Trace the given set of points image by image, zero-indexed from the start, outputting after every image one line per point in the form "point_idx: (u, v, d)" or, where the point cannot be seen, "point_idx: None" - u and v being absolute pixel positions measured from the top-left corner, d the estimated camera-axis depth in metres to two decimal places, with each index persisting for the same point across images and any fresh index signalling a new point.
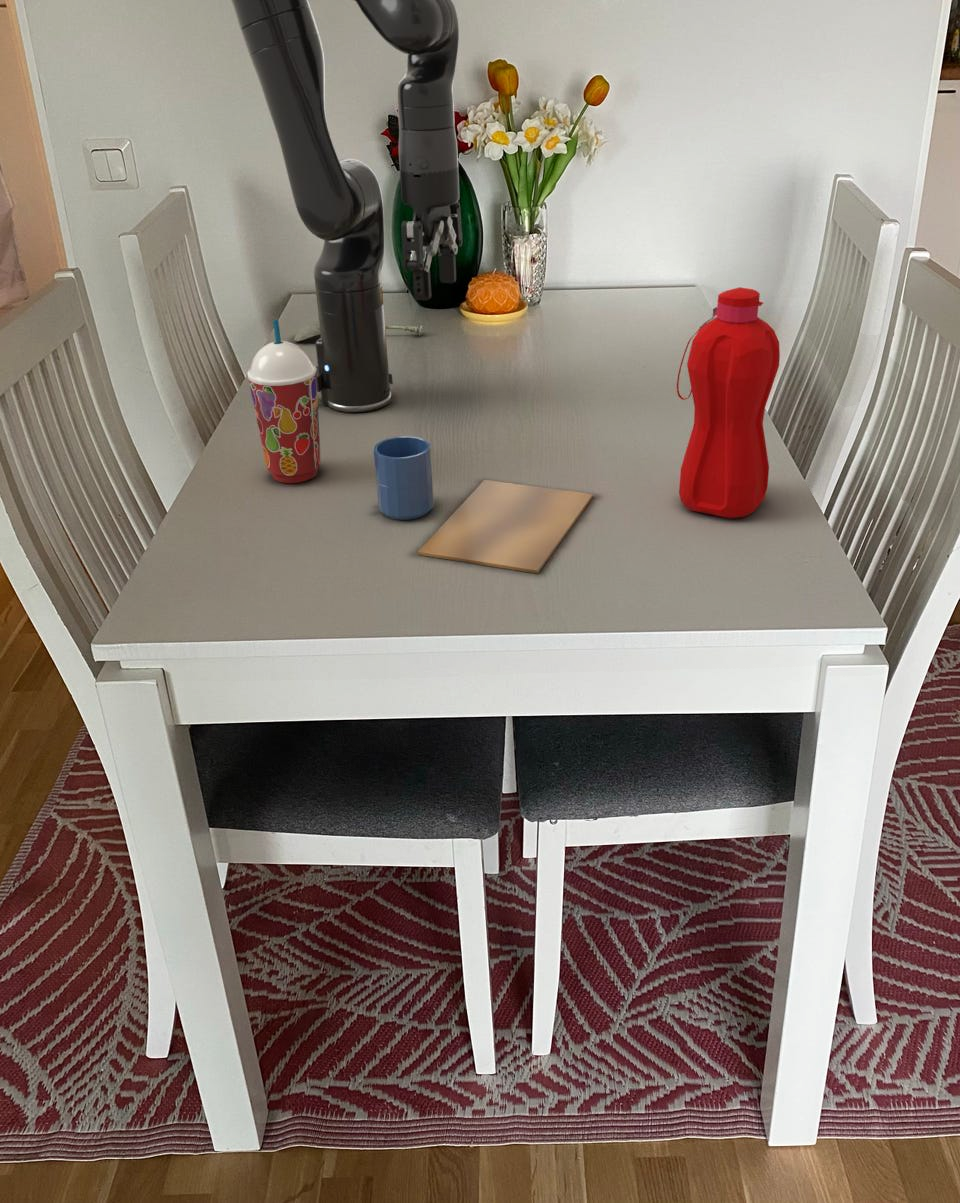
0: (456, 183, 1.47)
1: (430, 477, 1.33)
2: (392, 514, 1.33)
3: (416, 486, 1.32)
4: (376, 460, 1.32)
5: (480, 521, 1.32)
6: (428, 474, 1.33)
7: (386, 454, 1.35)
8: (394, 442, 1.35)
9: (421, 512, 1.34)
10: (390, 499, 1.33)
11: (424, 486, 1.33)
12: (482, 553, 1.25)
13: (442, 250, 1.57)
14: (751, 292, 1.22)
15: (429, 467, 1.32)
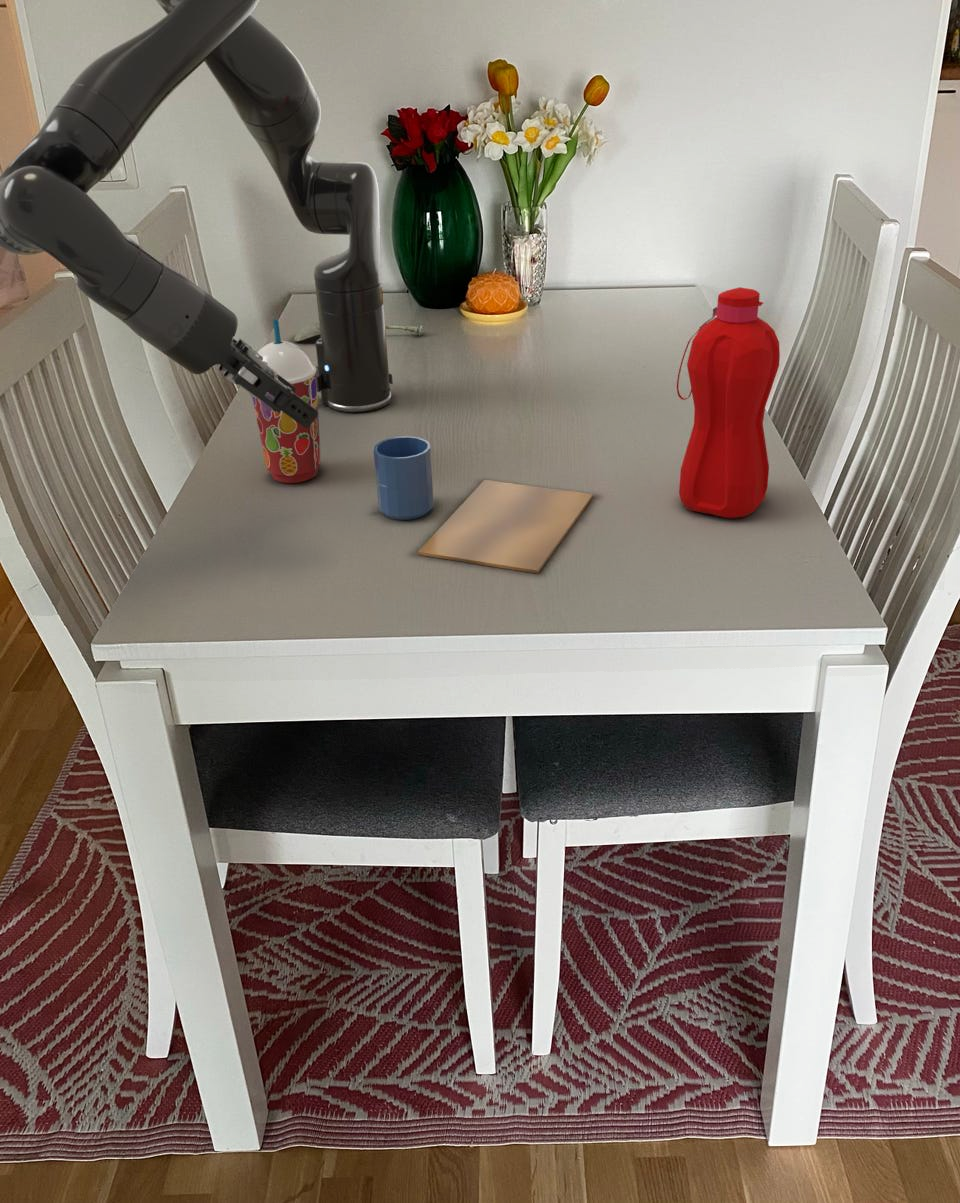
0: None
1: (430, 477, 1.33)
2: (392, 514, 1.33)
3: (416, 486, 1.32)
4: (376, 460, 1.32)
5: (480, 521, 1.32)
6: (428, 474, 1.33)
7: (386, 454, 1.35)
8: (394, 442, 1.35)
9: (421, 512, 1.34)
10: (390, 499, 1.33)
11: (424, 486, 1.33)
12: (482, 553, 1.25)
13: None
14: (751, 292, 1.22)
15: (429, 467, 1.32)
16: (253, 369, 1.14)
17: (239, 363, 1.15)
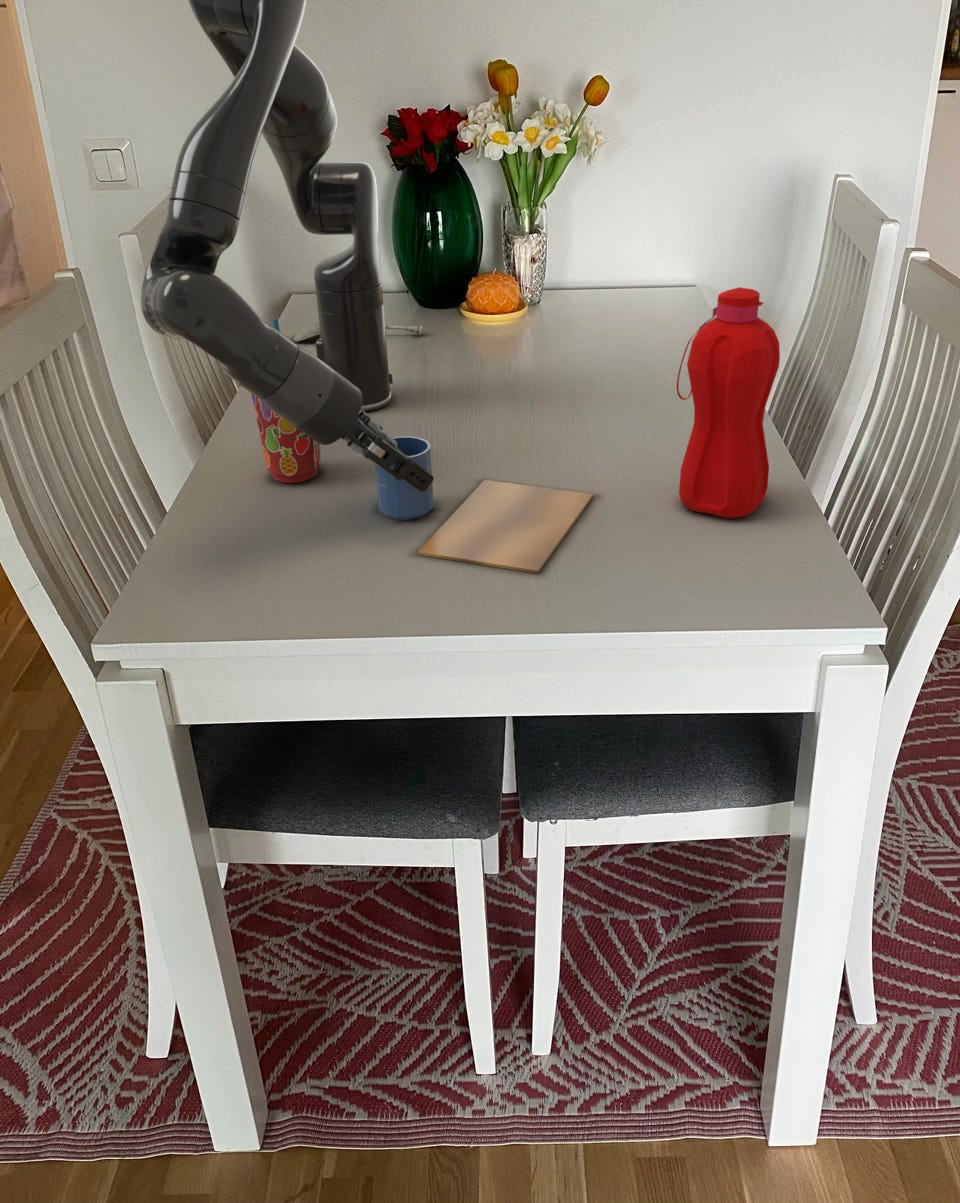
0: None
1: None
2: (392, 514, 1.33)
3: None
4: None
5: (480, 521, 1.32)
6: None
7: None
8: None
9: (421, 512, 1.34)
10: (390, 499, 1.33)
11: None
12: (482, 553, 1.25)
13: None
14: (751, 292, 1.22)
15: (429, 467, 1.32)
16: (382, 445, 1.24)
17: (366, 437, 1.25)
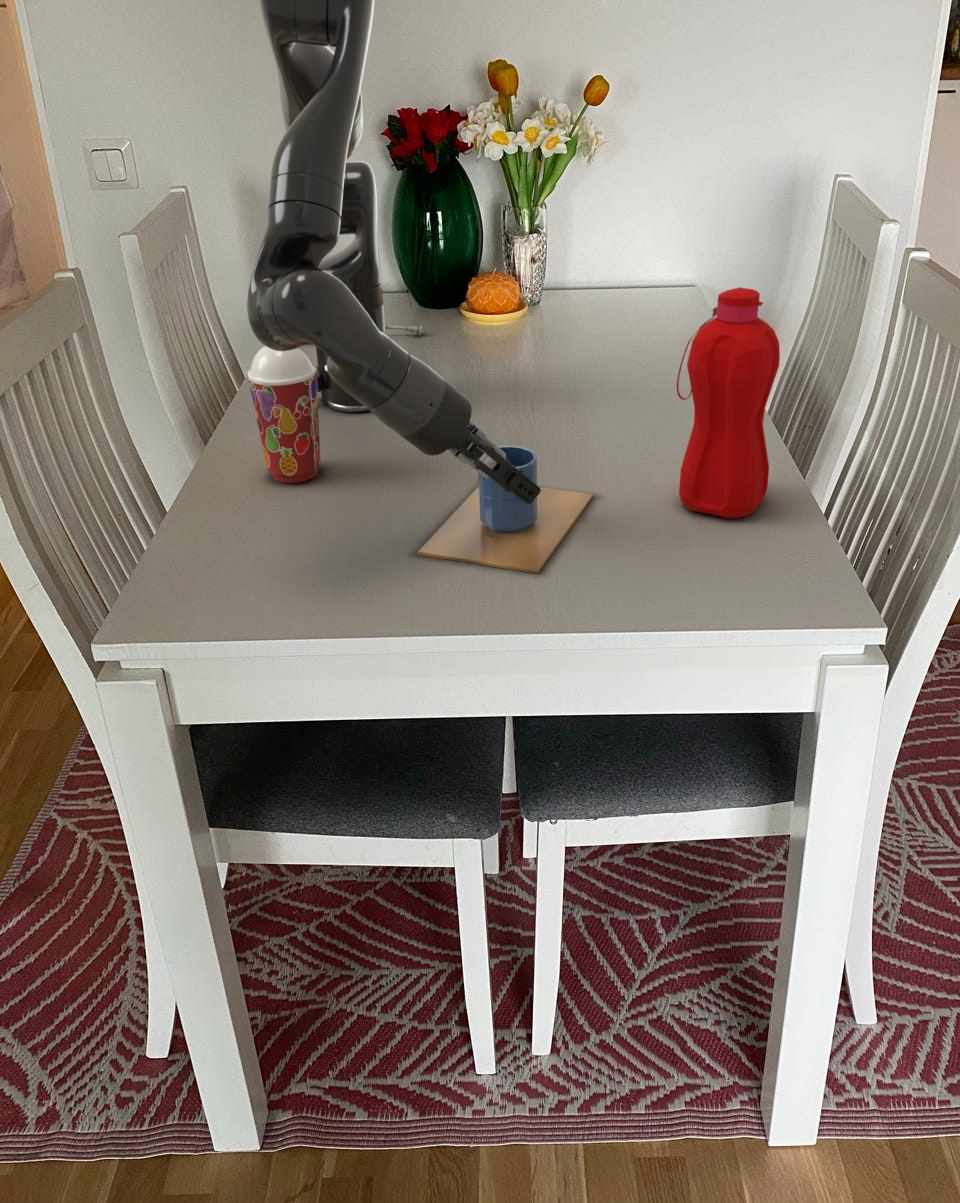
0: None
1: None
2: (496, 527, 1.29)
3: None
4: None
5: (480, 521, 1.32)
6: None
7: None
8: None
9: (526, 524, 1.29)
10: (494, 511, 1.28)
11: None
12: (482, 553, 1.25)
13: None
14: (751, 292, 1.22)
15: (535, 478, 1.28)
16: (494, 456, 1.19)
17: (477, 448, 1.20)
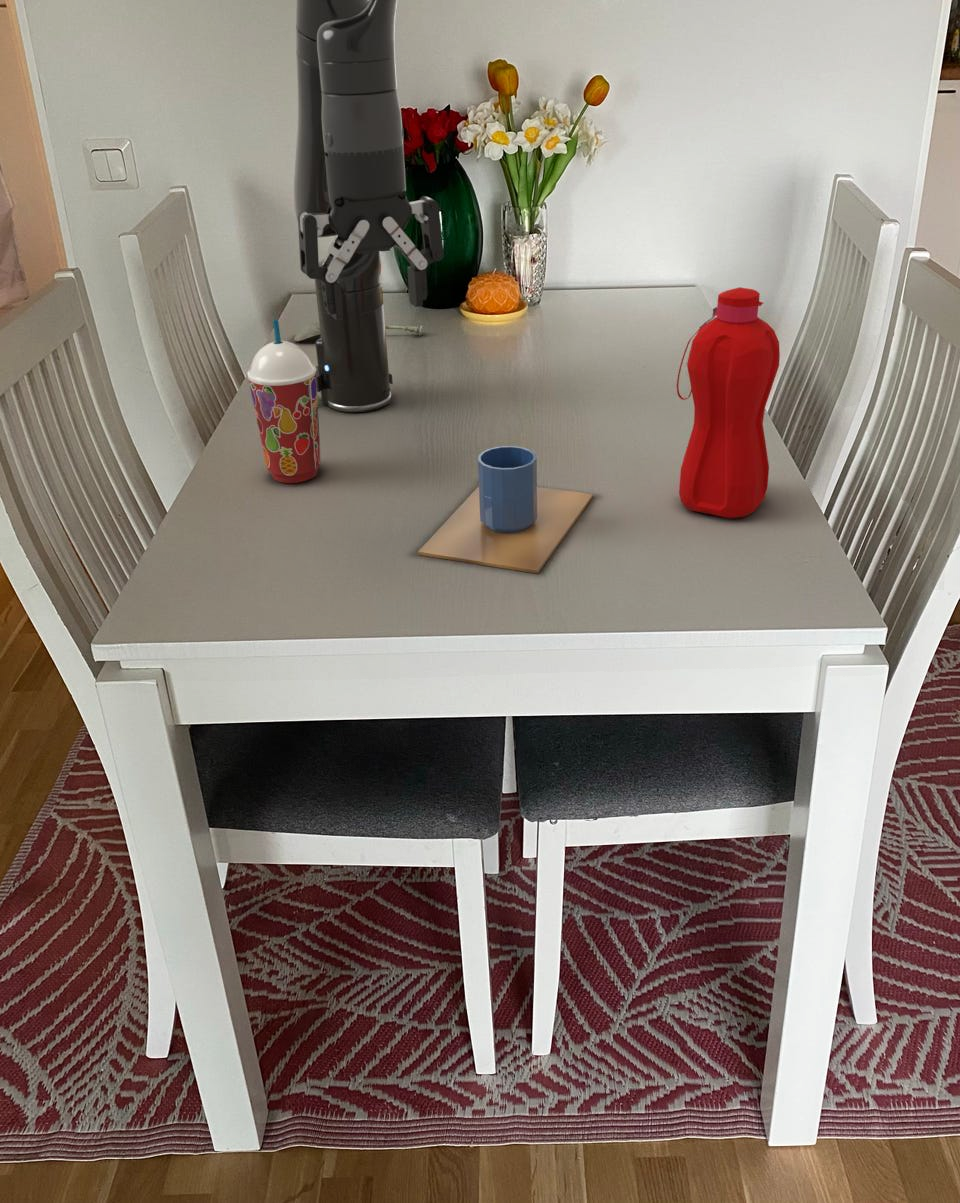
0: (377, 173, 1.07)
1: (536, 488, 1.29)
2: (496, 527, 1.29)
3: (522, 498, 1.27)
4: (481, 471, 1.27)
5: (480, 521, 1.32)
6: (534, 486, 1.28)
7: (488, 464, 1.30)
8: (497, 452, 1.30)
9: (526, 525, 1.29)
10: (494, 511, 1.28)
11: (530, 498, 1.28)
12: (482, 553, 1.25)
13: (410, 261, 1.17)
14: (751, 292, 1.22)
15: (535, 478, 1.28)
16: None
17: (412, 202, 1.14)
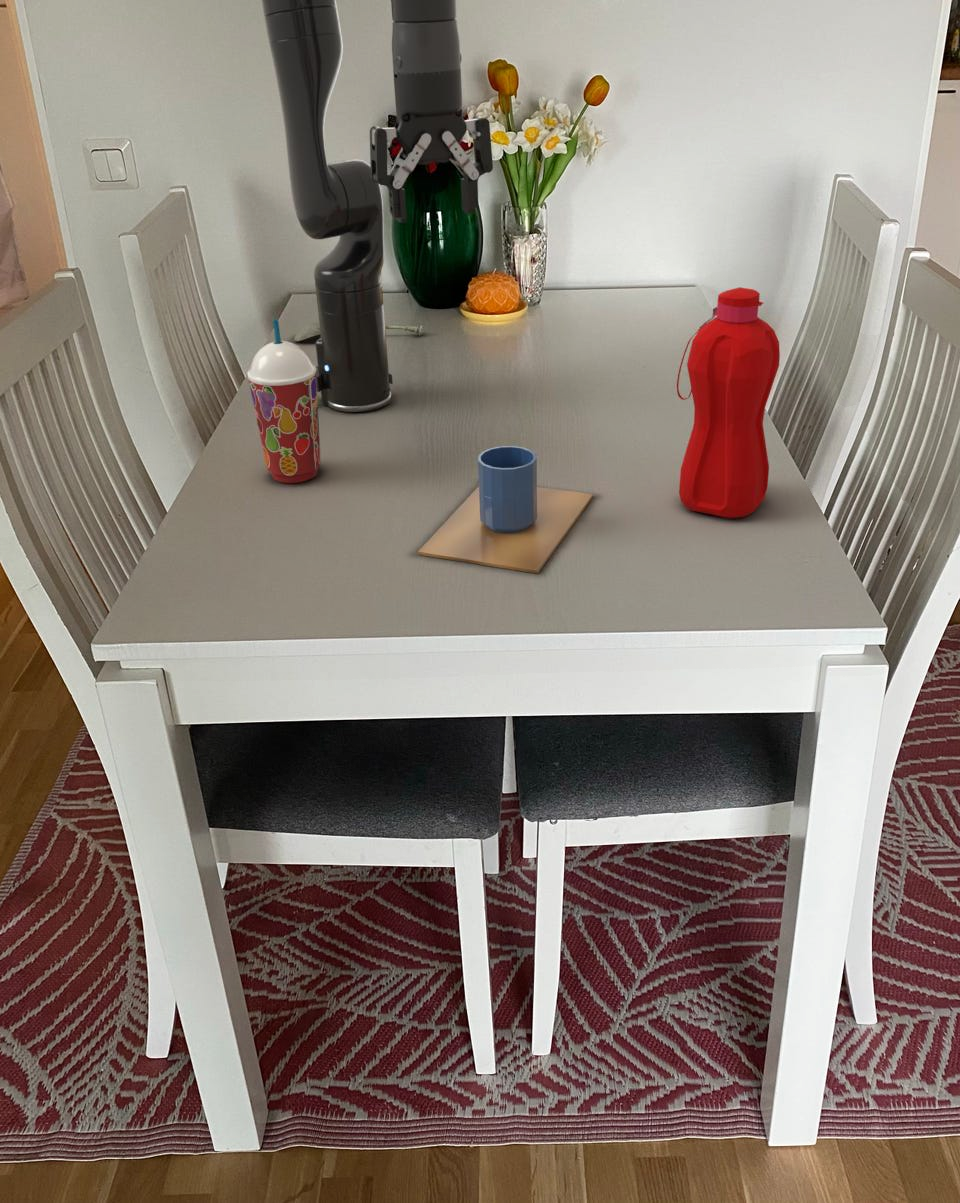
0: (439, 90, 1.25)
1: (536, 488, 1.29)
2: (496, 527, 1.29)
3: (522, 498, 1.27)
4: (481, 471, 1.27)
5: (480, 521, 1.32)
6: (534, 486, 1.28)
7: (488, 464, 1.30)
8: (497, 452, 1.30)
9: (526, 525, 1.29)
10: (494, 511, 1.28)
11: (530, 498, 1.28)
12: (482, 553, 1.25)
13: (463, 173, 1.35)
14: (751, 292, 1.22)
15: (535, 478, 1.28)
16: None
17: (466, 120, 1.32)
